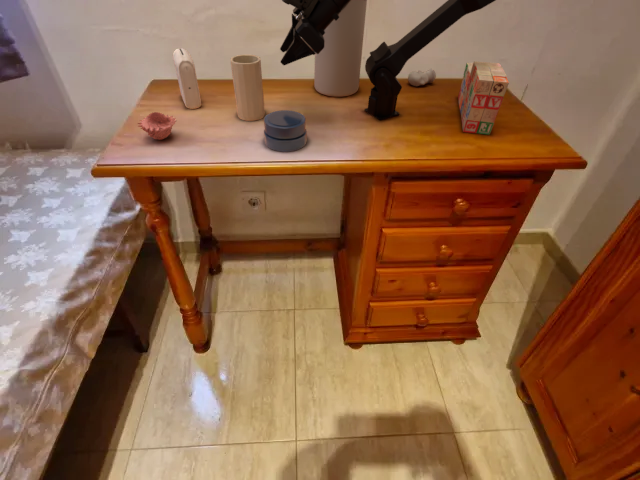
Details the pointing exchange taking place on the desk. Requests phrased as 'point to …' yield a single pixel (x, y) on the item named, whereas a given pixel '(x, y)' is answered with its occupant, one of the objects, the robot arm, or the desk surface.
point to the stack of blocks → (481, 96)
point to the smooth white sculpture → (421, 77)
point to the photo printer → (187, 78)
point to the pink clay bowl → (157, 125)
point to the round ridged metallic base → (285, 130)
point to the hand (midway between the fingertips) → (281, 57)
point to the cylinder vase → (341, 52)
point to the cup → (248, 87)
